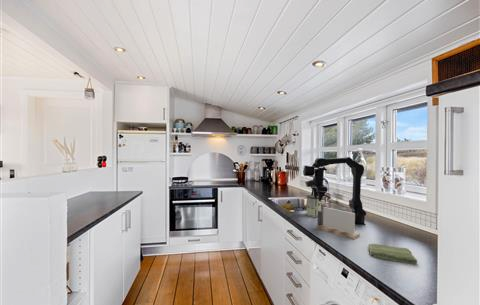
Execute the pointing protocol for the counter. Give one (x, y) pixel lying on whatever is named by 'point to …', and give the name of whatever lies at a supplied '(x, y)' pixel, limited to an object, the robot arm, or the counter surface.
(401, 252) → the washcloth
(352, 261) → the counter surface
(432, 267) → the counter surface
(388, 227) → the counter surface
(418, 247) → the counter surface
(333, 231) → the door base
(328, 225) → the door
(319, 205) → the glass jar
